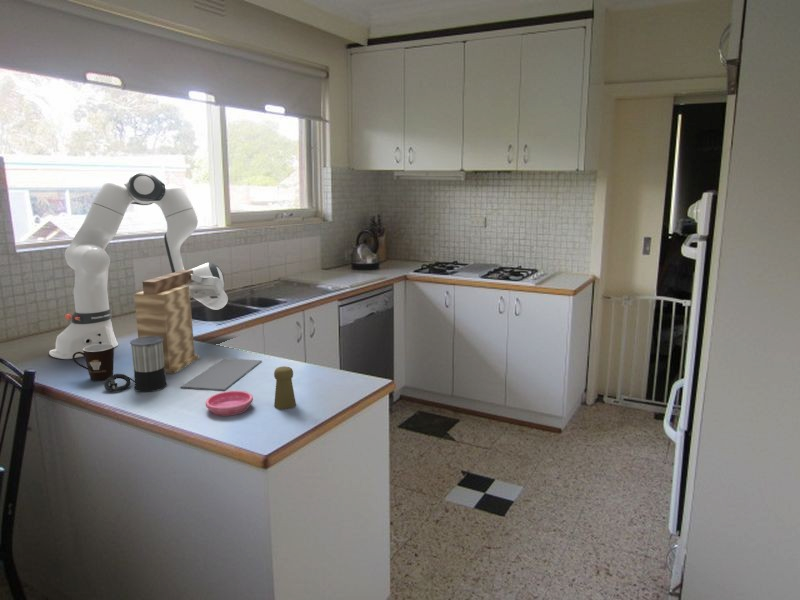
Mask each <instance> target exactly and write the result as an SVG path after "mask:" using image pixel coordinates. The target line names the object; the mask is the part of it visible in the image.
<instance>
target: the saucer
mask: <svg viewBox="0 0 800 600" xmlns="http://www.w3.org/2000/svg"><path fill="white" fill-rule="evenodd" d="M253 400H254V396H253V394H252V393H250V392H247V391H243V390H229V391H227V390H226V391H223V392H222V391H221V392H219V393H215V394H213V395H211V396H209V397H208V398H207V399H206V401H205V407H206V408H207V409H208V411H211V412H212V414H214V415H217V416H225V417H226V416H233V415H234V416H235V415H238V414H241V413H244V412H246V410H247V409H248V408H249V406H251V405H252V403H253V402H254V401H253Z"/></svg>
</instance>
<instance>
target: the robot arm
mask: <svg viewBox="0 0 800 600" xmlns="http://www.w3.org/2000/svg"><path fill="white" fill-rule="evenodd" d="M152 204H156V205H157V206H158V207H159V209H160V210H161V211H162V215H163V216H164V219H165V221H166V227H167V228H166V229H167V230H166V232H165V234H164V236H163V237H164V238H163V239H164V245H165V249H166V255H167V258H168V262H169V265H170V269H171V270H170V271H171V273H174V272H177V271H181V270H186V269H185V267H184V263H183V258H182V254H181V247H182V245H183V244H184V242H185V241H186V240H187V239H188V238H189V237H190V236H191V235H192V234H194V232H195V231H196V229H197V226H198V222H199V221H198V216H197V213H196V211H195V208H194V206H193V204H192V203H191V200H190V198H189V197H188V195H187V193H186V192H185V191H184V189H183V187H181V186H179V185H177V184H167V185H165V183H164V182H162V180H160V179H159V178H157V177H156V176H155V175H153V174H152V173H150V172H147V171H139V172H136V173H134V174H132V175H131V176H130V178H129V180H128V182H121V181H118V180H114V179H113V180H108V181H105V182H104V183H103V184H102V186H100V189H99V190H98V192H97V193H96V195H95V197H94V199H93V201H92V203H91V206H90V208H89V210H88V212H87V214H86V216H85V219H84V221H83V223H82V225H81V227H80V228H79V229H78V231H77V232H76V234H75V236H74V237H73V238H72V241H71V242H70V243H69V246H68V247H67V248H66V249H65V250H64V251H65V252H64V260H65V262H66V264H67V265H68V267H70V268H71V269H72V270H74V284H73V285H74V286H73V290H72V291H73V293H72V294H73V299H74V301H73V302H74V307H75V312H74V313H73V314H70V313H66V314H65V315H64V316H65V319H66V320H69V321H70V320H71V323H70V324H69V325H68V326H67V327H65V329H64V330H62V331H61V332H60V333H59V334H58V335H57V336H56V339H55V348H54V349H50V350H49V352H48V353H49V356H50V357H53V358H56V359H60V360H61V359H62V360H73V354H74V353H76V352H83V349H84V348H85V347H87V346H91V345H96V344H112V345H114V348H116V347H117V346H118V345H119V343H118V340H117V339H116V335H115V333H114V329H113V324H112V321H113V320H112V318H113V317H112V310H111V308H110V302H109V293H108V281H109V280H108V279H109V268H110V264H111V258H110V255H109V254H108V253H107V251H106V248H107V247H108V245H109V243H110V242H111V241H112V240H113V238H115V236H116V235H117V232H118V231H119V227H120V225H121V223H122V220H123V219H124V216H125V214H126V212H127V210H128V207H129V206H130V205H139V206H149V205H152ZM189 270H193V274H189V279H190V280H194V281H193V282H190V283H187V284H184V285H181V286H189V289H190V298H191V297H192V298H193V299H194V300H196V301H198V302H199V303H201V304H202V305H204V306H205V307H207V308H209V309H211V310H214V311H215V310H217V311H218V310H220V309H223V308H224V307H225V306H226V305H227V304H228V300H229V297H228V294H227V293H226V291H225V290H224V286H225V277H224V273H223V271H222V270H221V268H220V266H218V265H217V264H215V263H214V262H211V261H208V262H206V263H205V262H204V263H203V264H201V265H198V266H196V267H193V268H190V269H189ZM83 353H84V352H83ZM82 357H84V356H83V355H82V354H76V355H75V359H76V358H82Z"/></svg>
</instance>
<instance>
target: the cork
mask: <svg viewBox="0 0 800 600" xmlns="http://www.w3.org/2000/svg"><path fill="white" fill-rule="evenodd" d="M273 376H274V379H275V380H276V381H275V390H274V391H275V392H274V402H273V403H274V404H273V405H274V407H273V408H274V409H277V410H290V409H293V408H295V407H296V406H297V403H296V397H295V391H294V387H293V386H294V385H293V381H292V379H293V377H294V370H293V368H292V367H290V366H279V367H276V368H275V370H274V371H273Z"/></svg>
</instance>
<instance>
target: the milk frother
mask: <svg viewBox="0 0 800 600" xmlns="http://www.w3.org/2000/svg"><path fill="white" fill-rule="evenodd" d="M162 341H163V338H161V337H156V336H149V337H141V338H138V337H137V338H134V339H132V340H130V342H129V344H130V345H131V356H132V365H133V374H134V378H132V377H130V376H128V375H127V374H126V375H125V374H122V373H116V374H115V373H114V374H113V375H112V376H110V377H109V378H108V379H107V380H105V381H104V382H103V387H104V389H105V390H107V391H109V392H120V391H123V390H126V389H128V388H129V387H130V386H131V382H133V383H134V387H133V388H134V390H135V391H137V392H141V393H147V392H149V393H150V392H156V391H159V390H162V389H164V388H165V387H167V386H168V382H167V377H166V373H165V367H164V355H163V344H162ZM117 379H120V380H123V381H125V384H124V385H121V386H118V382H116V380H117Z"/></svg>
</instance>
